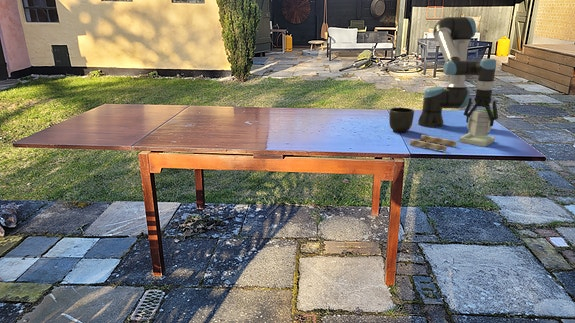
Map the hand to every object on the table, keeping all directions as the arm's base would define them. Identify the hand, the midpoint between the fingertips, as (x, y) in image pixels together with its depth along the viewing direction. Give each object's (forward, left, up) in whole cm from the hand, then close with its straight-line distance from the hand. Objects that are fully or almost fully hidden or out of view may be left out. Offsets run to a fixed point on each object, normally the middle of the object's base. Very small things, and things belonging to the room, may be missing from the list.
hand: (478, 130), depth 230 cm
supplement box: (0, 0, -3) cm, 3 cm away
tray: (0, 0, -7) cm, 7 cm away
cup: (-7, +33, -7) cm, 34 cm away
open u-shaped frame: (-14, -24, -7) cm, 29 cm away
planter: (-42, -8, -7) cm, 43 cm away
